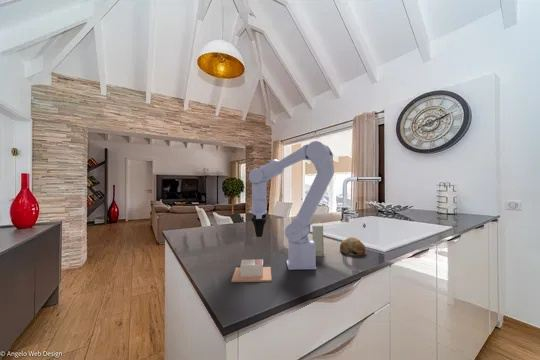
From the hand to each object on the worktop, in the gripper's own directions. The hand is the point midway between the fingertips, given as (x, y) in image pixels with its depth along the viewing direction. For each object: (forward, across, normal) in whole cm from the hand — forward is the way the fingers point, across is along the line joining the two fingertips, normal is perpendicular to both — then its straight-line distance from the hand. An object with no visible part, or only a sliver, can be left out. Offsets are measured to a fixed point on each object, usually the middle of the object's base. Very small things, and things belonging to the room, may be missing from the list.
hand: (259, 234), depth 86 cm
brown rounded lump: (+10, -6, +39) cm, 41 cm away
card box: (+9, +15, -2) cm, 18 cm away
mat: (+9, +15, -2) cm, 18 cm away
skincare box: (+10, -4, +24) cm, 26 cm away
